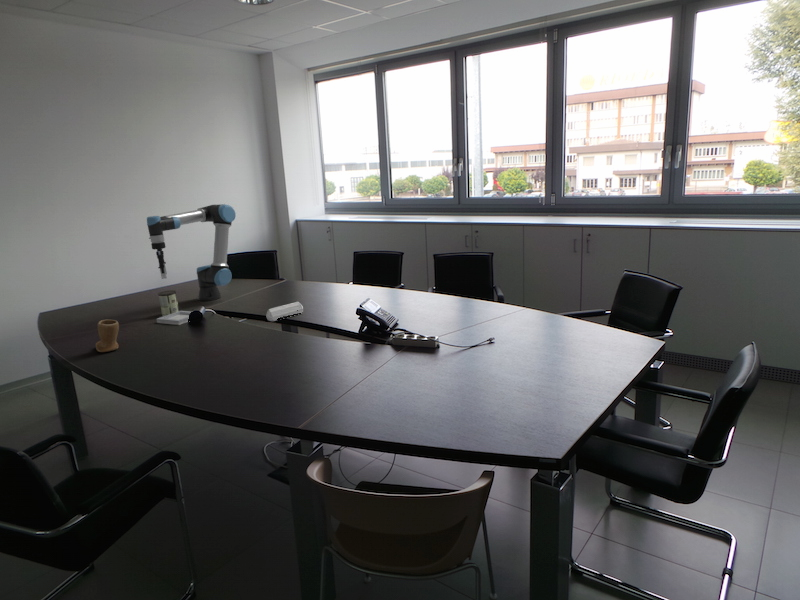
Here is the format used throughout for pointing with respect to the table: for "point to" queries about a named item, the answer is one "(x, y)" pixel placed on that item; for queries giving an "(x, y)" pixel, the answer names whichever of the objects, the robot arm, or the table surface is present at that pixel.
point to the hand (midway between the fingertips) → (164, 276)
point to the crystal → (284, 311)
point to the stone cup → (107, 335)
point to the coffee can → (168, 302)
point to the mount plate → (175, 318)
